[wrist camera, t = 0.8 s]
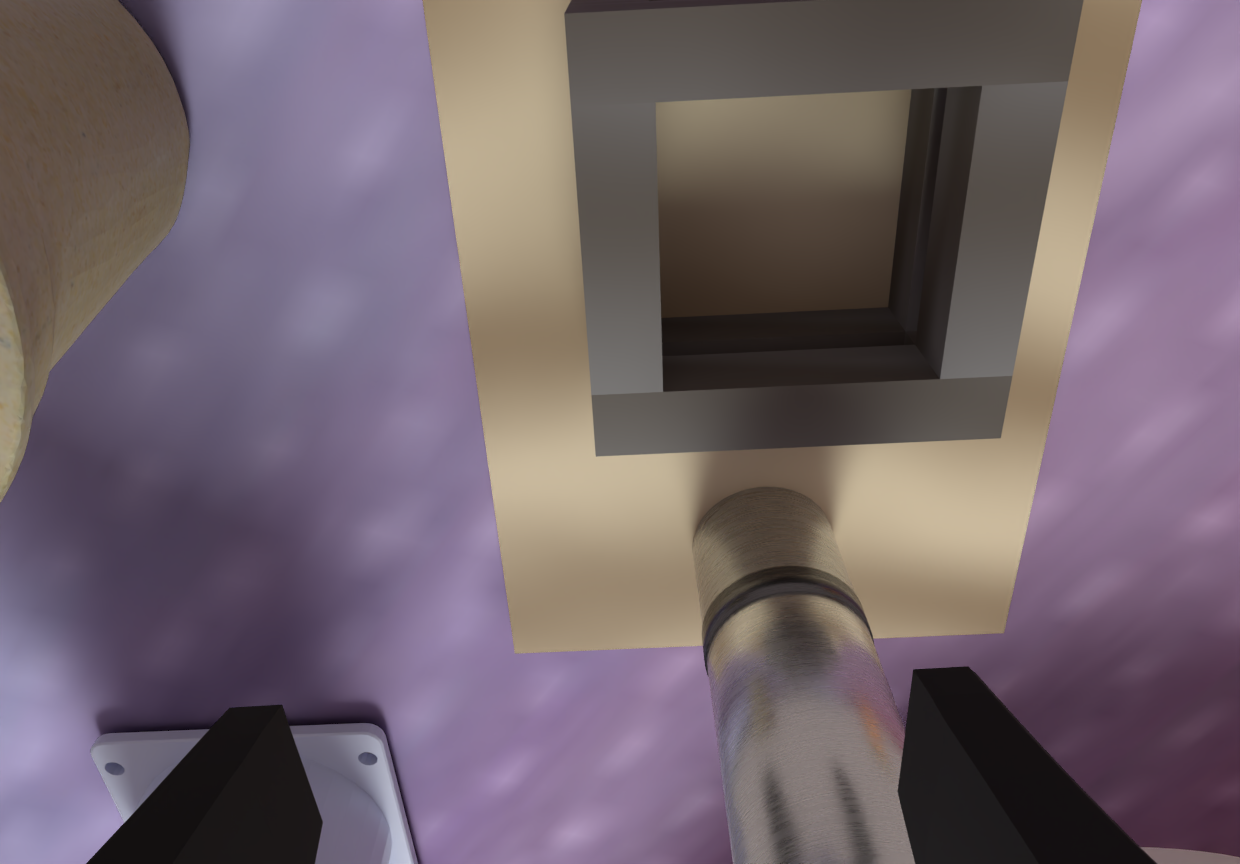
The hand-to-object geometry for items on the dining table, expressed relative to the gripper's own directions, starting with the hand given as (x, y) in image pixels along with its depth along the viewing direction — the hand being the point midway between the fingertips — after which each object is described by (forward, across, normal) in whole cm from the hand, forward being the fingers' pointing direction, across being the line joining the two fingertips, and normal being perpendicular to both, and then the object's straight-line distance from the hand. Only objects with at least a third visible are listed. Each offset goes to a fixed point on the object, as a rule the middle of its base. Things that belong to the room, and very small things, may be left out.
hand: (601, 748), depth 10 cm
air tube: (+9, -3, +4) cm, 11 cm away
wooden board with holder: (+10, -3, 0) cm, 11 cm away
